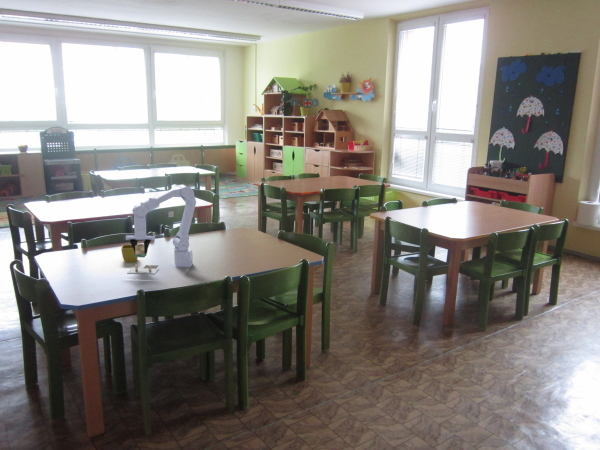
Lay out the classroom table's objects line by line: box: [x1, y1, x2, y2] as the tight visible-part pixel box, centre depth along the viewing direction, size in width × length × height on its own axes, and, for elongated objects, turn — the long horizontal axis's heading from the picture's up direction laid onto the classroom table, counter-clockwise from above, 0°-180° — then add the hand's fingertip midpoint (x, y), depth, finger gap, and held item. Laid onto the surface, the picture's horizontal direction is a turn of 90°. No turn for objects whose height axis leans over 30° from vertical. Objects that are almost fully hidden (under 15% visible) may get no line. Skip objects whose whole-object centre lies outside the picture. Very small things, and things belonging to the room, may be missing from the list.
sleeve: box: [135, 243, 148, 258], centre depth 252 cm, size 4×4×6 cm
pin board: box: [127, 264, 160, 275], centre depth 251 cm, size 14×8×4 cm, turn 90°
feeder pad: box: [142, 264, 160, 269], centre depth 259 cm, size 7×6×1 cm
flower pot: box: [120, 244, 139, 264], centre depth 268 cm, size 9×9×9 cm
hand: (141, 253), depth 252 cm, fingers closed on sleeve, 4 cm apart
